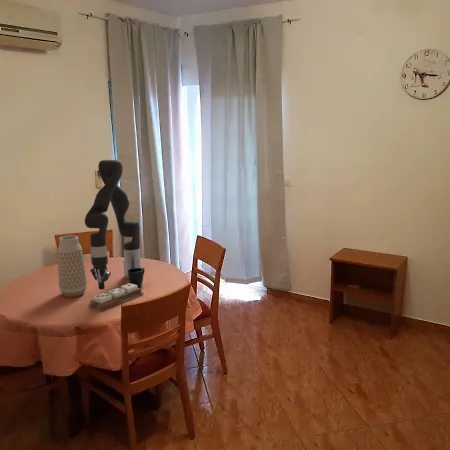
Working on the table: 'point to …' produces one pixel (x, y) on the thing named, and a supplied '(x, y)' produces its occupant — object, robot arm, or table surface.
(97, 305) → the board
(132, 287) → the tile one
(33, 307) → the table surface
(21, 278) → the table surface
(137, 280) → the mug
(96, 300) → the tile three
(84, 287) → the vase
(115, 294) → the tile two
